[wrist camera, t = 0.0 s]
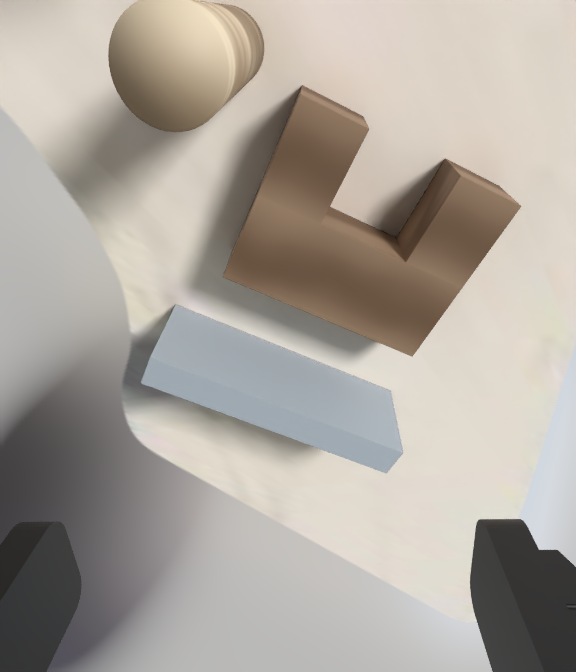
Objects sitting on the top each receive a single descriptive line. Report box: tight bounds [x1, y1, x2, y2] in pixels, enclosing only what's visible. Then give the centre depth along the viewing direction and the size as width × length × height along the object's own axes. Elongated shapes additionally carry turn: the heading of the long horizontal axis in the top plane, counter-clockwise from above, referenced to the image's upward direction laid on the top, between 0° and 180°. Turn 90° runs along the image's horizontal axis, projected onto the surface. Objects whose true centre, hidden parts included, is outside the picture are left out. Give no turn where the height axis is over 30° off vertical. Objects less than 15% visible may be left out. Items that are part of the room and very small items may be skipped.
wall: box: [141, 305, 403, 473], centre depth 32 cm, size 2×16×6 cm, turn 65°
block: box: [223, 85, 521, 356], centre depth 28 cm, size 10×12×4 cm
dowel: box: [108, 0, 264, 132], centre depth 20 cm, size 4×4×12 cm
